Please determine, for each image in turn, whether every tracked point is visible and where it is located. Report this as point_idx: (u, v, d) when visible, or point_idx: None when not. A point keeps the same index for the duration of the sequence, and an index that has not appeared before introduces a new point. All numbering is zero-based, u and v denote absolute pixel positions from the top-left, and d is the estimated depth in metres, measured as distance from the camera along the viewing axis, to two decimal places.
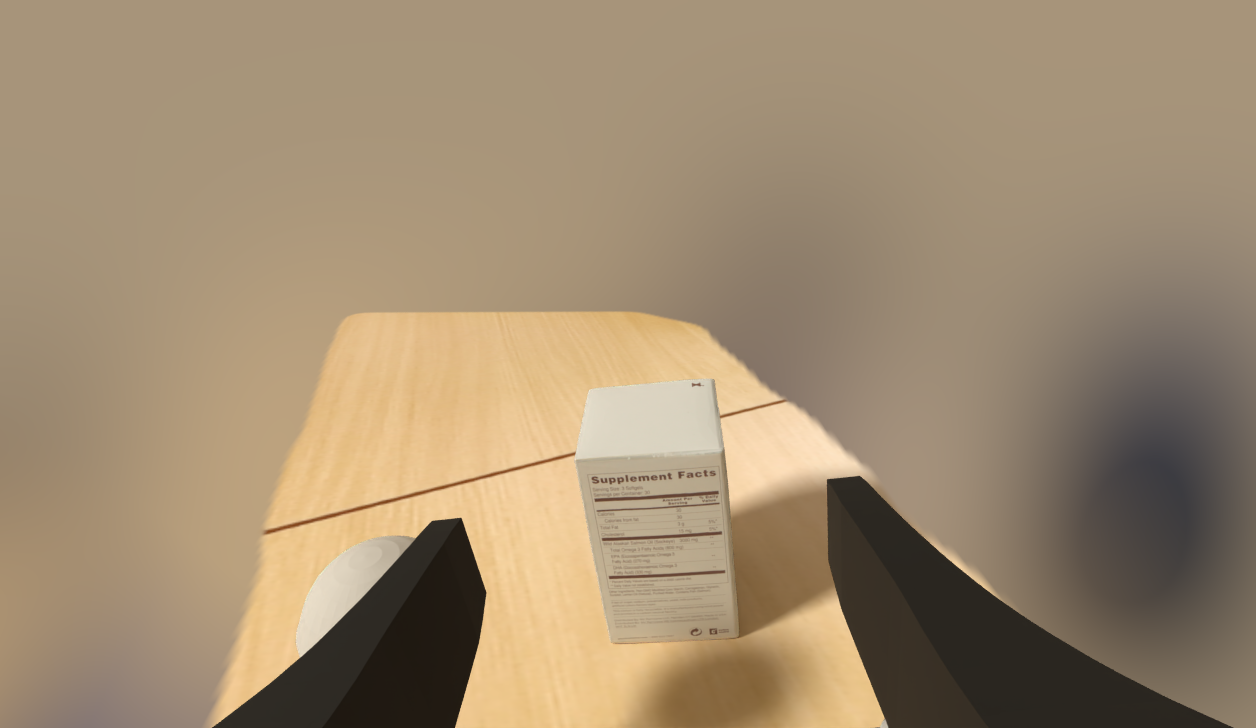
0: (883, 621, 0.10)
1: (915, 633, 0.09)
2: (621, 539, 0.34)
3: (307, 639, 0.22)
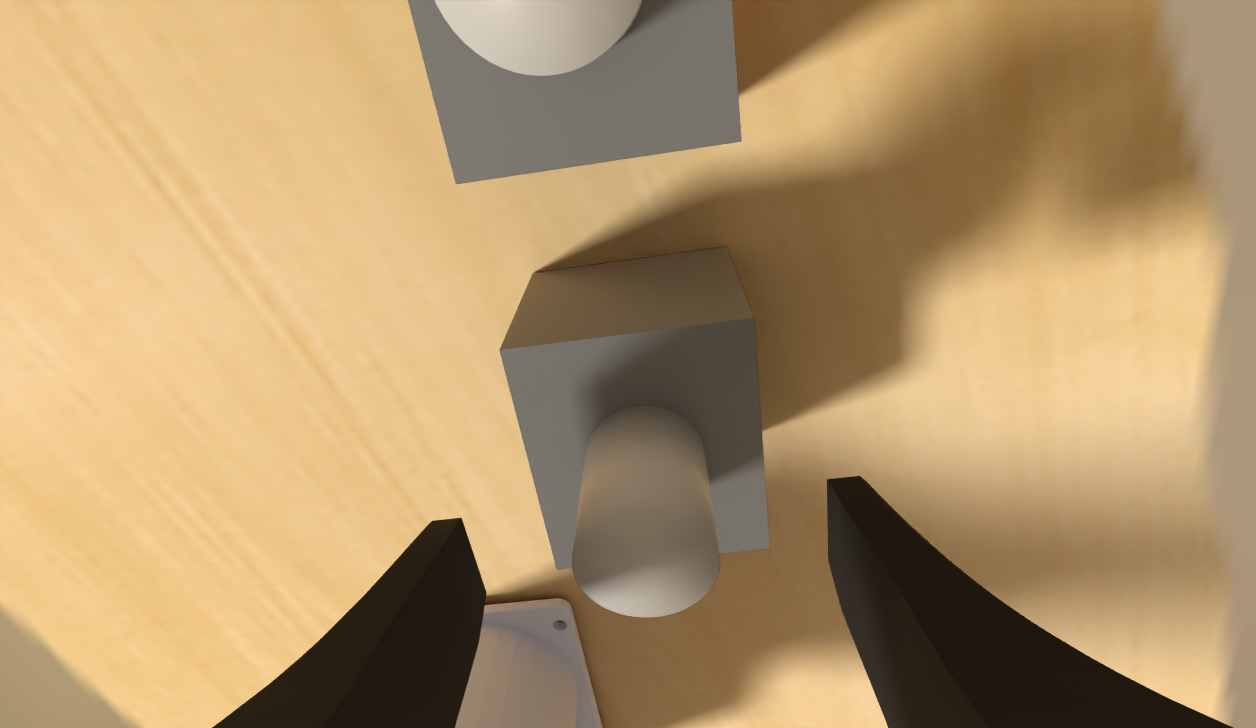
0: (883, 622, 0.10)
1: (915, 633, 0.09)
2: None
3: None
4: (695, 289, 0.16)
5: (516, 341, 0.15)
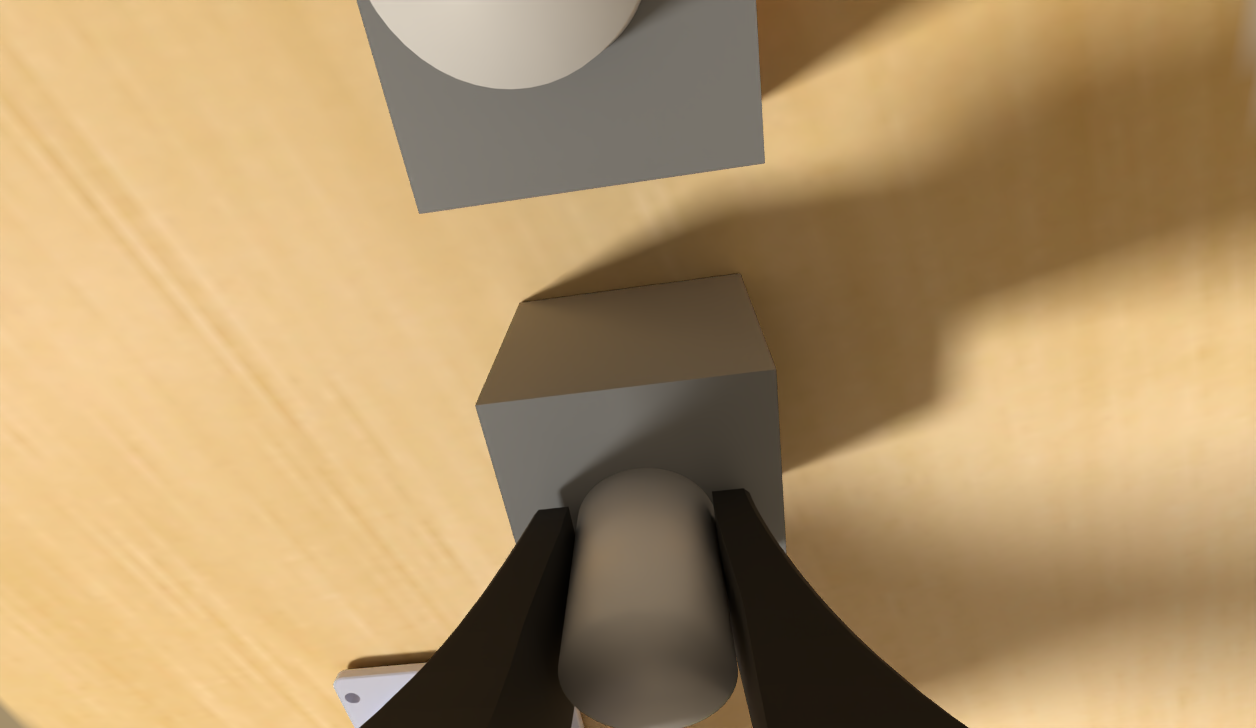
0: (742, 634, 0.10)
1: (750, 647, 0.09)
2: None
3: None
4: (705, 328, 0.14)
5: (495, 393, 0.13)
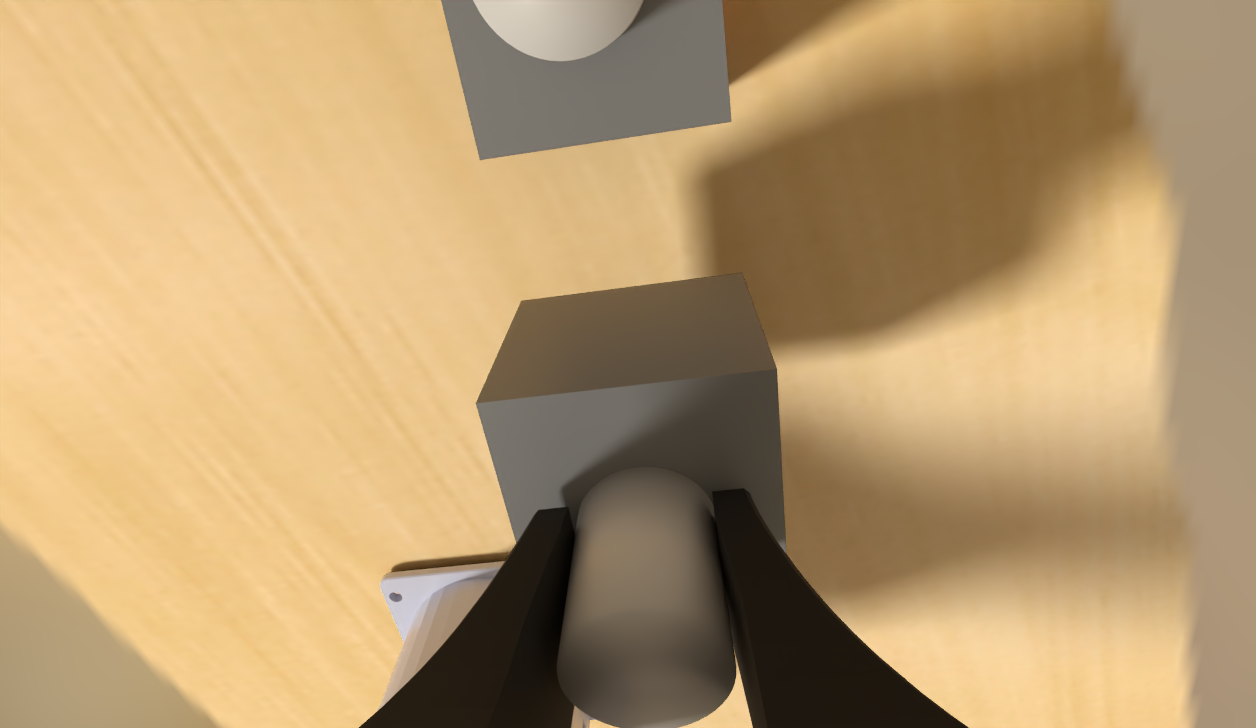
0: (742, 634, 0.10)
1: (750, 647, 0.09)
2: None
3: None
4: (706, 328, 0.14)
5: (496, 392, 0.13)
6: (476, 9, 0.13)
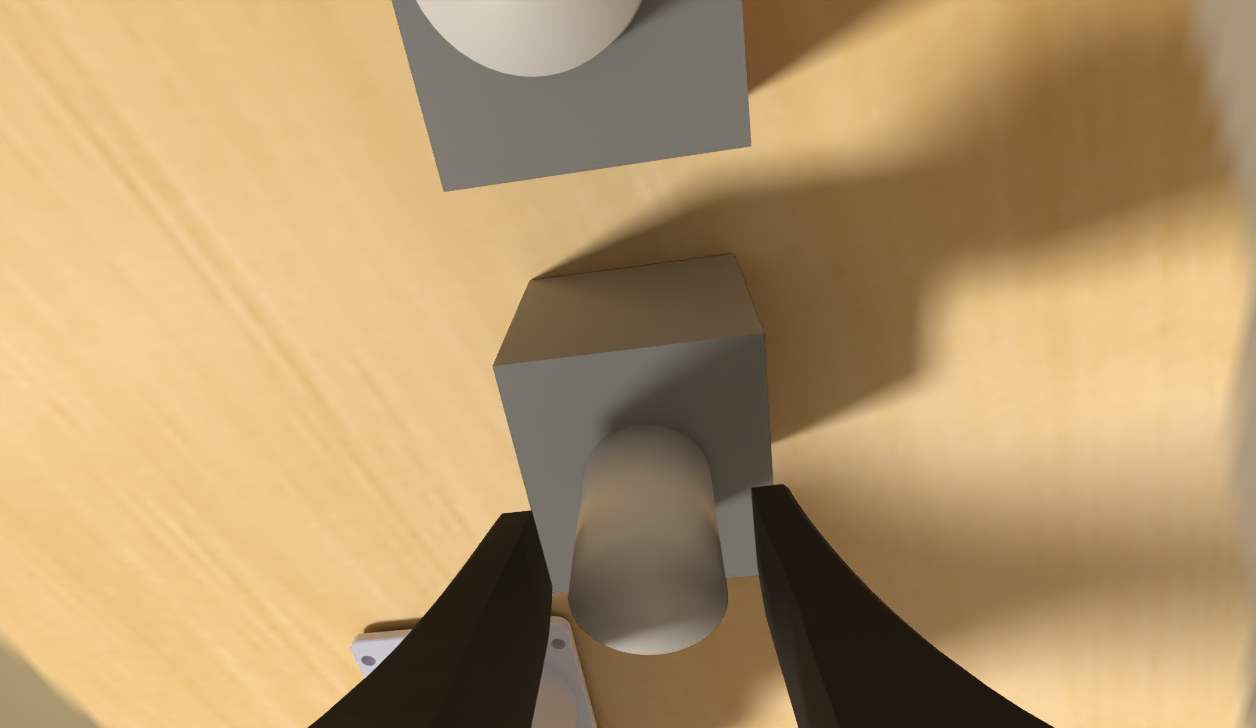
0: (789, 629, 0.10)
1: (806, 642, 0.09)
2: None
3: None
4: (701, 300, 0.15)
5: (511, 356, 0.14)
6: None
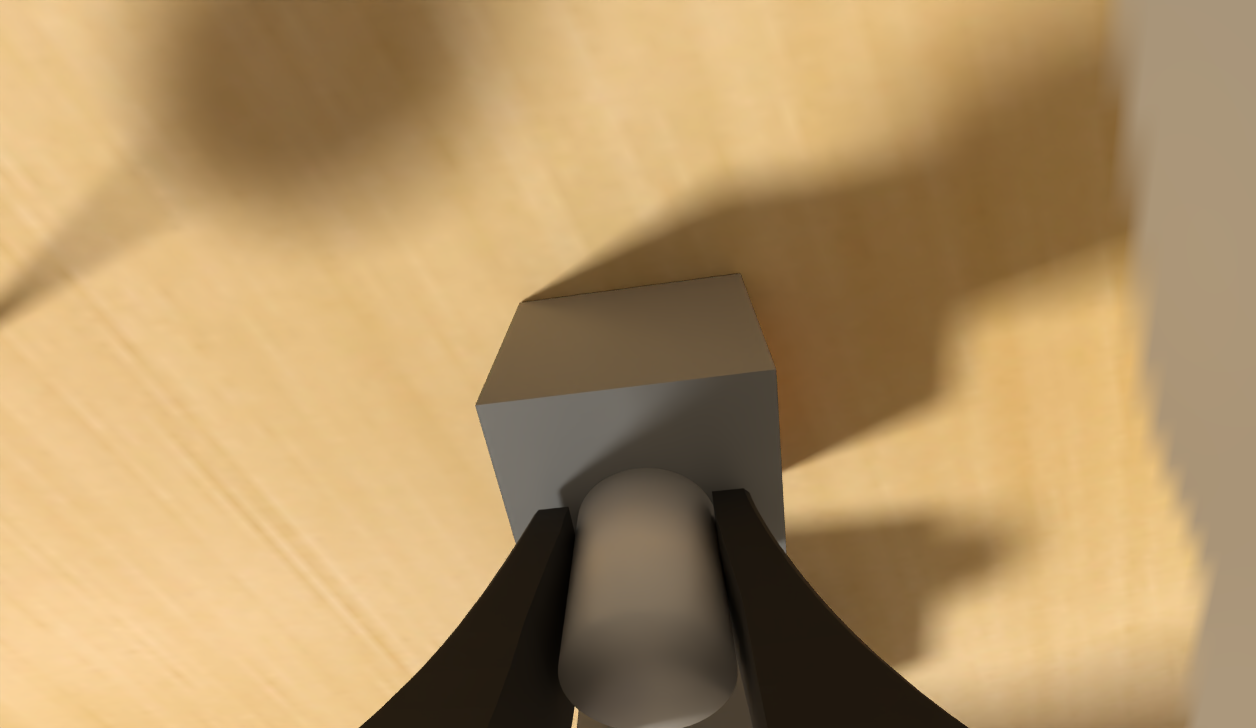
0: (742, 634, 0.10)
1: (750, 647, 0.09)
2: None
3: None
4: None
5: None
6: None
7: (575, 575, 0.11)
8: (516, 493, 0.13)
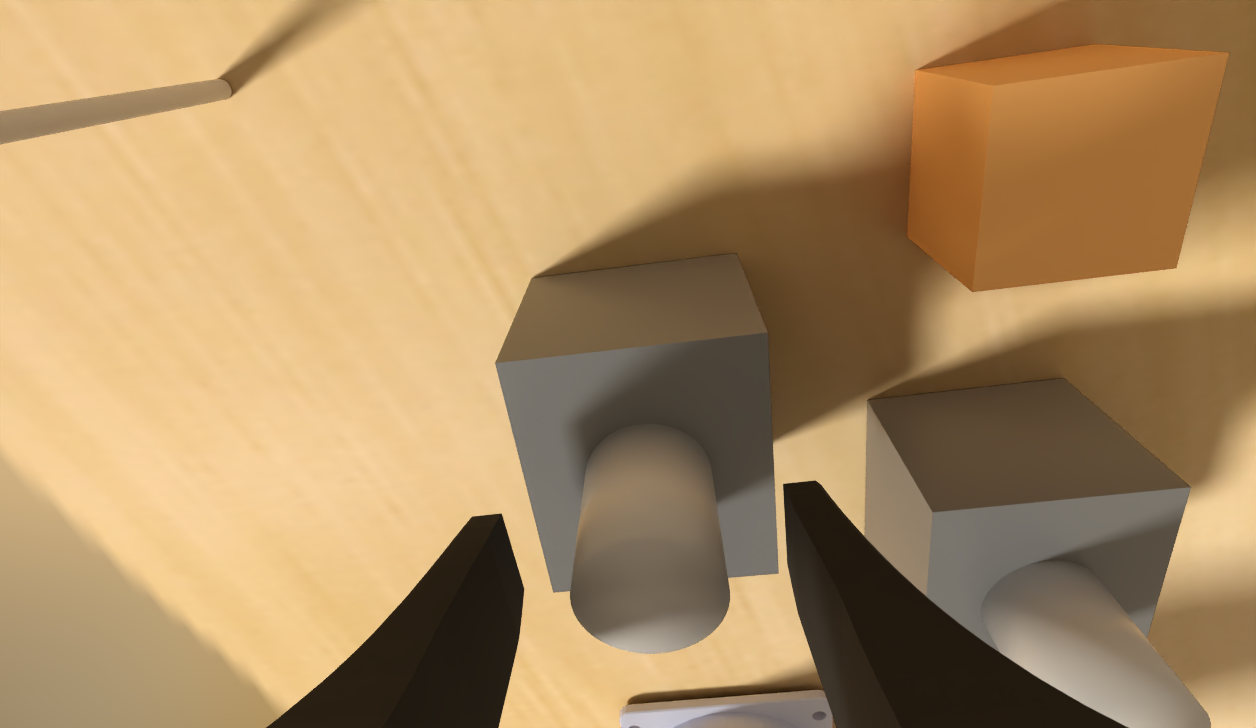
0: (829, 626, 0.10)
1: (852, 638, 0.09)
2: None
3: None
4: (1084, 439, 0.17)
5: (941, 501, 0.15)
6: (558, 498, 0.15)
7: (585, 514, 0.13)
8: (530, 446, 0.15)
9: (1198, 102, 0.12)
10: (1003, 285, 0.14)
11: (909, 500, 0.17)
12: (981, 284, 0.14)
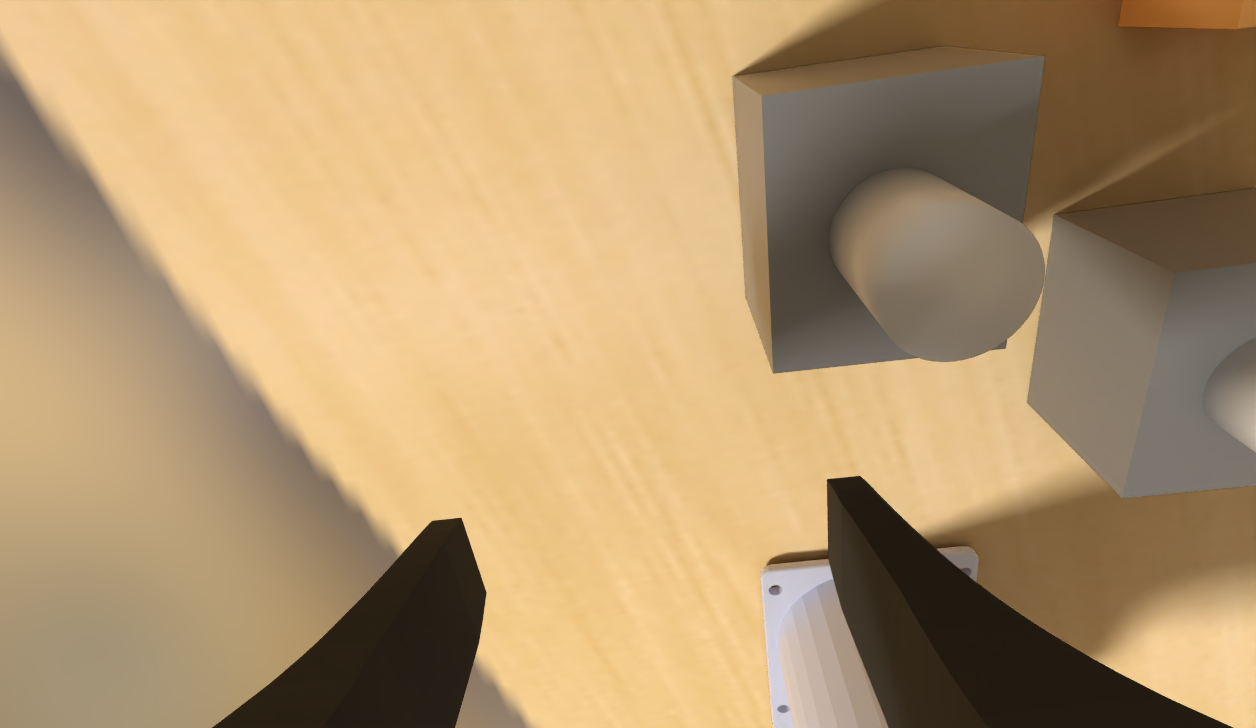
0: (883, 621, 0.10)
1: (915, 633, 0.09)
2: None
3: None
4: None
5: (1179, 266, 0.15)
6: (797, 259, 0.15)
7: (871, 228, 0.13)
8: (780, 196, 0.14)
9: None
10: None
11: (1128, 283, 0.17)
12: (1246, 20, 0.14)
